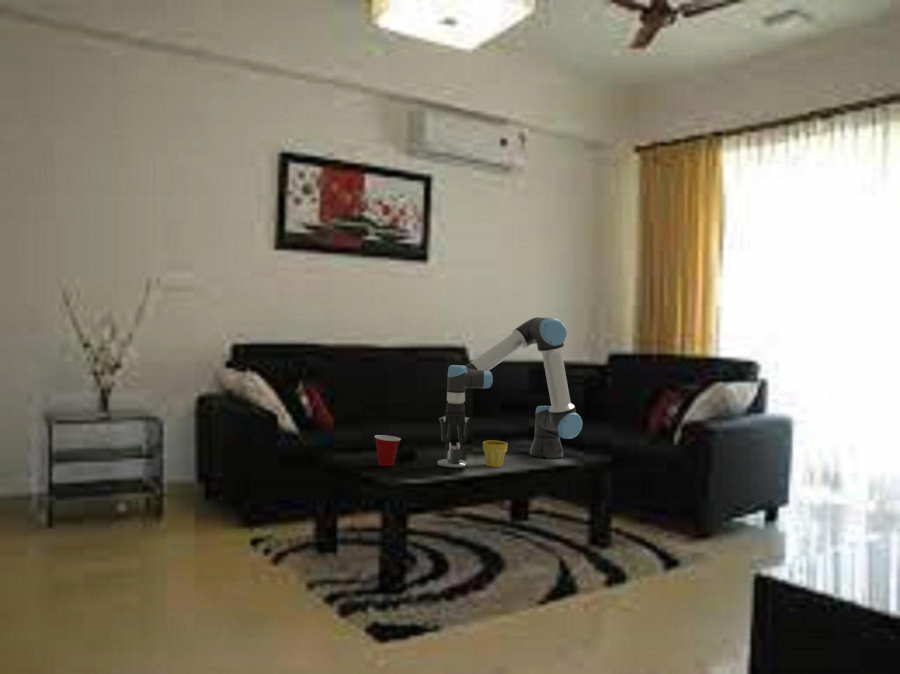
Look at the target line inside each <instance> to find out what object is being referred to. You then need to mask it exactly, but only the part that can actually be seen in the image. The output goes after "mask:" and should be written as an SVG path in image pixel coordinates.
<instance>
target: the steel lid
mask: <svg viewBox="0 0 900 674" xmlns="http://www.w3.org/2000/svg"><path fill="white" fill-rule="evenodd" d="M460 455H461V451H460V449H458V448H457V445H451V459H448V456H447V458H444V459H443V458H442V459H439V460H437V466H439V467H442V468H448V469H449V468H450V469H461V468H467V467H469V465H470V462H469V461H467V460H463V459H460V458H461V456H460Z"/></svg>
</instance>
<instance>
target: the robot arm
mask: <svg viewBox="0 0 900 674" xmlns="http://www.w3.org/2000/svg"><path fill="white" fill-rule="evenodd" d="M567 332H568V331H567V328H566V325H565V324H564V323H563V322H562V321H561V320H560V319H558V318H554V317H540V316H539V317H534V318H530V319H528V320H527V321H525V322H524V323H522V324H520V325H518V326H517V327H516V328H515V329H513V330H512V332H511V334H510V335H508V336H506V337H505V338H504V339H502V340H501V341H500V342H498V343H497V344H495V345H494V346H492V347H491V348H490V349H488V350H486V351H485V352H484V353H483V354H481V355H479V356H478V357H476V358H475V359H474V360H472V361H470V362H469V363H467V364H466V365H458V364H451V365H449V366H448V370H447V388H446V389H447V390H446V401H447V403H446V412H445V415H444V416H442V417H439V418H438V419H439V420H438V421H439V423H440V434H441V436H440V437H441V439H440V440H441V441H442V442H444V443H445V451H446V452H447V457H448V459H451V446H452V442H451V437H452V432H453V427H454V426H455V425H456V431H457V439H458V442H456V447H457V448H458V449H460V452H461V451H463V444H464V443H466V442H467V441H468V436H469V428H470V427H469V426H470V423H471V421H472V419H471V418H470V417H466V414H465V409H466V408H465V402H466V389H489V388H491V387H492V385H493V378H494V376H493V374H492V372H491V370H492V369H493V368H495V367H496V366H498V365H499V364H500V363H501V362H503V361H504V360H506V359H508V358H510V356H512V355H513V354H516V352H517V351H519V350H521V349H526V348H527V347H529V346H531V345H534V344H535V345H536V346H537V351H538V352H539V353H540V354H541V356H542V360H543V361H542V362H543V367H544V371H545V378H546V382H547V389H548V393H549V400H550V404H551V405H538V406H537V407H536V409H535V416H534V417H535V419H534V421H535V423H534V438H533V441H532V444H531V446H530V449H529V455H530V454H531V455H530V456H532V455H533V456H532V457H535V456H537V457H536V458H541V457H546V458H545V459H560V458H559V457H561V458H564V457H563V456H564V450H563V446H562V444H561V443H562V442H561V438H562V439H574V438H576V437H577V436H578V435H579V434H580V432H581V431H582V428H583V419H582V417H581V416H580V414H578V413H577V411H576V406H575V404H573V403H572V402H571V397H570V391H569V387H568V380H567V376H566V375H567V374H566V368H565V362H564V356H563V351H562V350H563V349H564V347H565V344H564V343H565V341H566V339H567V334H568V333H567ZM446 421H447V422H448V427H447V433H446V423H445V422H446ZM463 421H464V429H463V433H462V423H463Z"/></svg>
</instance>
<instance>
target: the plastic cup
mask: <svg viewBox="0 0 900 674" xmlns="http://www.w3.org/2000/svg"><path fill="white" fill-rule="evenodd" d="M374 438H375V439H374V440H375V445H376V446H375V447H376V455H377V462H378V466H379V465H380V466H379V467H381V466H392V465H393V466H394V464H395V458H396V455H397V450H398V447H399V444H400V441H401V439H402V438H401V437H398V436H393V435H383V434H380V435H379V434H377V435H374ZM393 466H392V467H393Z"/></svg>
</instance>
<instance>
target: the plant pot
mask: <svg viewBox="0 0 900 674" xmlns="http://www.w3.org/2000/svg"><path fill="white" fill-rule="evenodd" d="M508 446H509V445H508V442H505V441H501V440H485V441H483V442H482V450H483V453H484V458H485V465H486V466H487V467H492V468H500V467H502V466H503V463H504V459H505V456H506V452H508Z"/></svg>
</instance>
